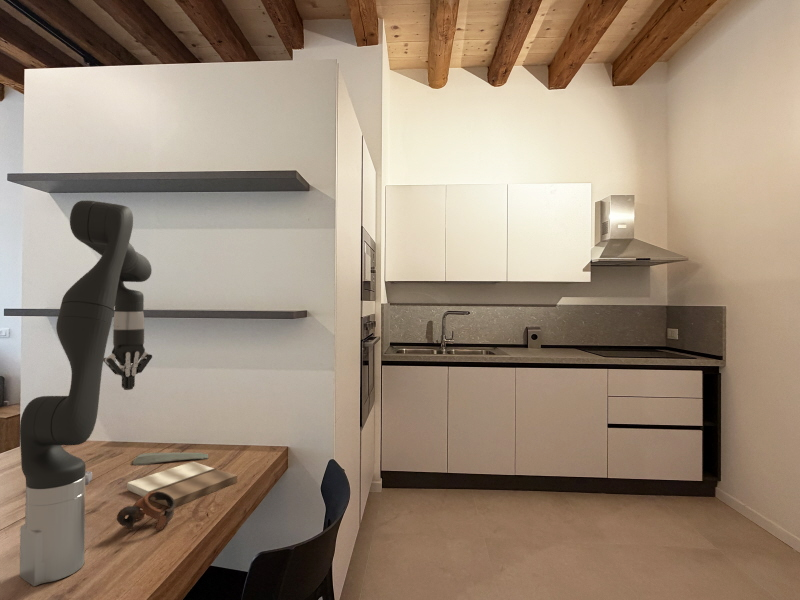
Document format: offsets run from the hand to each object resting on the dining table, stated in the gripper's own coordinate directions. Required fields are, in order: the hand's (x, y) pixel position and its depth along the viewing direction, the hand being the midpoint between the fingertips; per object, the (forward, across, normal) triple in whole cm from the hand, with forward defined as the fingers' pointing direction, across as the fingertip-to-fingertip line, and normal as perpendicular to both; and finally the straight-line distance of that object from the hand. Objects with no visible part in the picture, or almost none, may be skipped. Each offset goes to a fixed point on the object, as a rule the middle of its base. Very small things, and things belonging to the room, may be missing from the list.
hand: (128, 389), depth 130 cm
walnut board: (+27, +8, -19) cm, 34 cm away
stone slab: (+28, +21, +11) cm, 36 cm away
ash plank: (+27, +8, -9) cm, 29 cm away
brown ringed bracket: (+27, -11, -28) cm, 40 cm away
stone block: (+28, -8, +16) cm, 33 cm away
